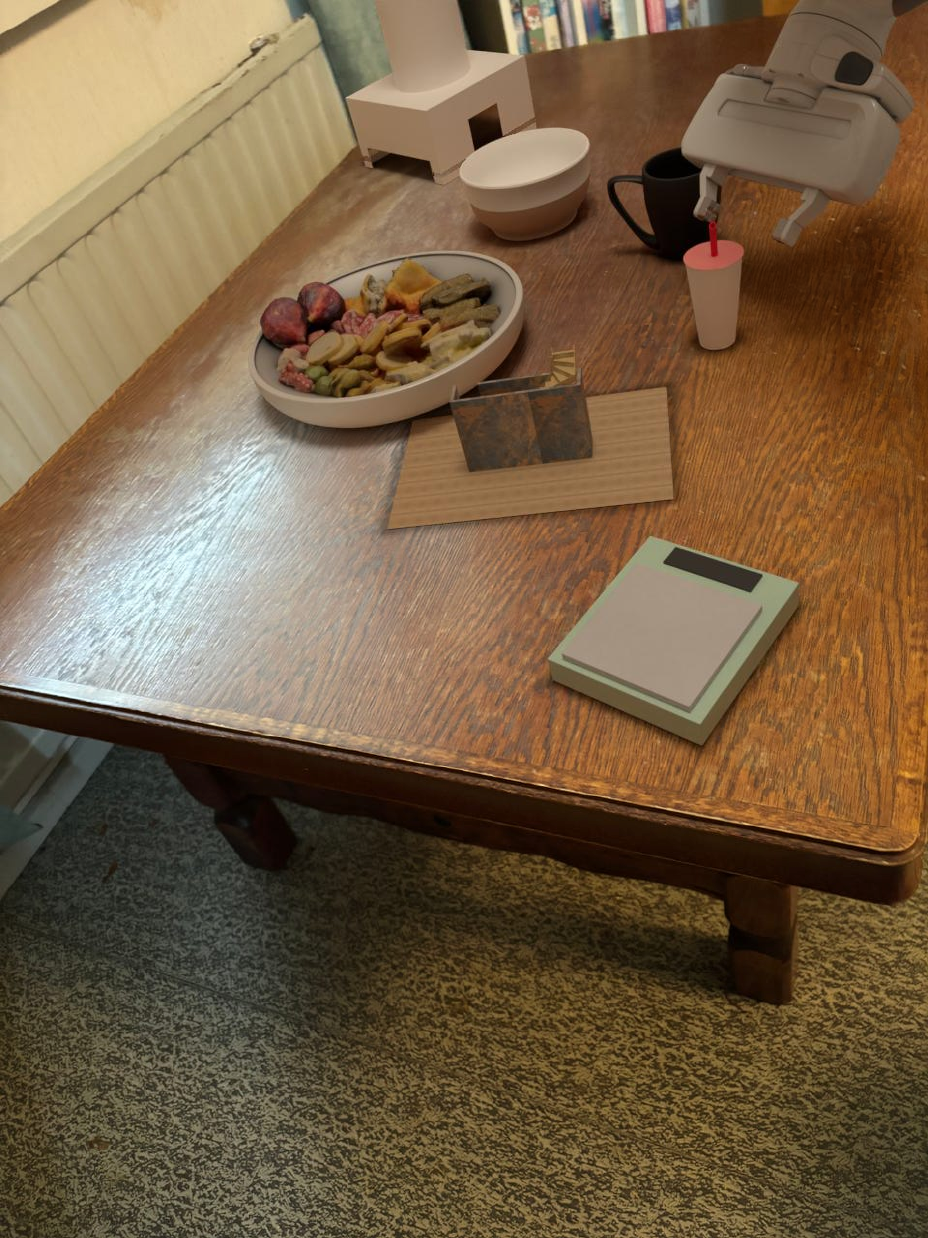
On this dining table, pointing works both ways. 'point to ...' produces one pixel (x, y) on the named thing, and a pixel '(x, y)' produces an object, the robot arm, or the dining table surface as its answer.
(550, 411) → the ruin model on sheet
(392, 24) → the paper towel holder
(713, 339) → the cup
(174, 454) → the dining table surface
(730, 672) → the scale
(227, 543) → the dining table surface
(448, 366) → the bowl
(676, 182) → the mug
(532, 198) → the bowl
